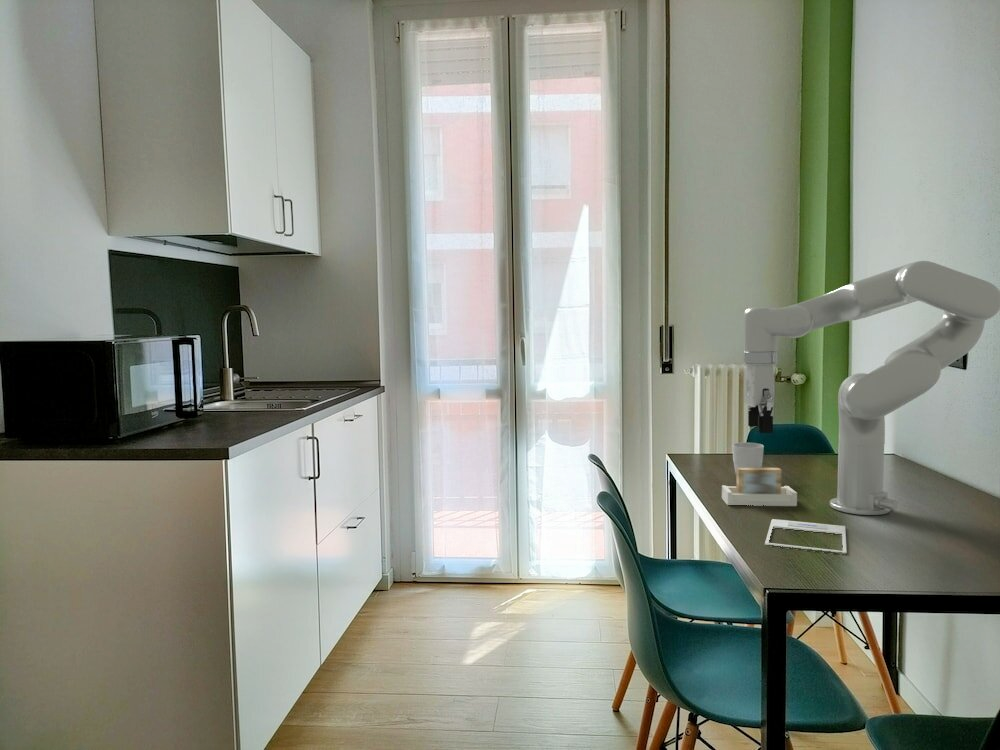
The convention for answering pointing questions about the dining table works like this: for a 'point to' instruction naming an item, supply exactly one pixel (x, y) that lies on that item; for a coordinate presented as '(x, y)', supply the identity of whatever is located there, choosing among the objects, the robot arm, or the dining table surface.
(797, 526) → the photo frame
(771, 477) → the oak frame
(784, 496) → the white pegged tray
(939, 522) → the dining table surface
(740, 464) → the cup
